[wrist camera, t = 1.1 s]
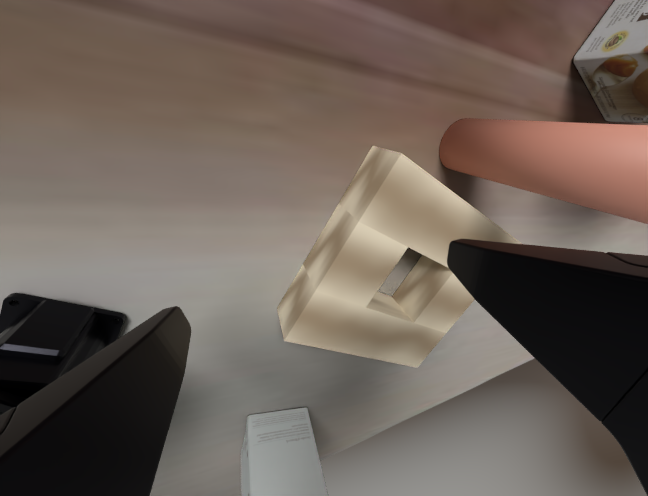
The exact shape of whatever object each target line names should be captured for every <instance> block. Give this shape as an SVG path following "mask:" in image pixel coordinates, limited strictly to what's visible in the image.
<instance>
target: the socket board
mask: <svg viewBox="0 0 648 496" xmlns="http://www.w3.org/2000/svg"><path fill="white" fill-rule="evenodd" d="M457 239H473V240H483V241H493V242H504V243H514V244H522V243H520V242H519V241H518V240H516V239H515V238H514V237H512V236H511V235H510V234H508V233H507V232H506V231H504V230H503V229H502V228H500V227H499V226H498V225H496V224H495V223H494V222H492V221H491V220H490V219H488V218H487V217H486V216H484V215H483V214H482V213H480V212H479V211H478V210H476V209H475V208H474V207H472V206H471V205H470V204H468V203H467V202H466V201H464V200H463V199H462V198H460V197H459V196H458V195H456V194H455V193H454V192H452V191H451V190H450V189H448V188H447V187H446V186H444V185H443V184H442V183H440V182H439V181H438V180H436V179H435V178H434V177H432V176H431V175H430V174H429V173H427V172H426V171H425V170H423V169H422V168H421V167H419V166H418V165H417V164H415V163H414V162H413V161H411V160H410V159H409V158H407V157H406V156H405V155H403V154H402V153H399V152H395V151H391V150H387V149H383V148H380V147H376V146H372V148H371V149H370V151H369V153H368V155H367V156H366V158H365V160H364V161H363V163H362V165H361V166H360V168H359V170H358V172H357V173H356V175H355V177H354V178H353V180H352V182H351V183H350V185H349V187H348V189H347V190H346V192H345V194H344V195H343V197H342V199H341V200H340V202H339V204H338V206H337V207H336V209H335V211H334V212H333V214H332V216H331V217H330V219H329V221H328V223H327V224H326V226H325V228H324V229H323V231H322V233H321V234H320V236H319V238H318V240H317V241H316V243H315V245H314V246H313V248H312V250H311V251H310V253H309V255H308V257H307V258H306V260H305V262H304V263H303V265H302V267H301V268H300V270H299V272H298V274H297V275H296V277H295V279H294V280H293V282H292V284H291V285H290V287H289V289H288V291H287V292H286V294H285V296H284V297H283V299H282V301H281V302H280V304H279V306H278V308H277V310H278V315H279V319H280V324H281V329H282V333H283V338H284V341H287V342H292V343H297V344H302V345H307V346H312V347H317V348H321V349H326V350H331V351H336V352H341V353H346V354H351V355H356V356H361V357H366V358H371V359H376V360H381V361H386V362H391V363H396V364H401V365H406V366H411V367H416V368H417V367H418V366H419V365H420V364H421V363H422V361H423V360H424V359H425V358H426V357H427V355H428V354H429V353H430V352H431V351H432V349H433V348H434V347H435V346H436V345H437V343H438V342H439V341H440V340H441V339H442V338H443V336H444V335H445V334H446V333H447V332H448V330H449V329H450V328H451V327H452V326H453V324H454V323H455V322H456V321H457V320H458V319H459V317H460V316H461V315H462V314H463V313H464V311H465V310H466V309H467V308H468V307H469V305H470V304H471V303H472V302H473V301H474V300H475V299H474V298H473V297H472V295H471V294H470V293H469V292H468V291H467V290H466V288H465V287H464V286H463V285H462V284H461V282H460V281H459V280H458V279H457V277H456V276H455V275H454V274H453V273H452V271H451V270H450V269H449V267H448V265H447V256H448V249H449V244H450V242H451V241H453V240H457ZM408 247H409V248H411V249H413V250H415V251H417V252H419V253H420V254H422V256H421V258H420V259H419V260H418V262H417V263H416V264H415V266H414V267H413V269H412V270H411V271H410V273H409V274H408V275H407V277H406V278H405V279H404V281H403V282H402V284H401V285H400V286H399V288H398V289H397V290H396V292H395V293H394V295H393V296H392V297H391V296H388V295H386V294H383V293H380V292H378V289H379V288H380V287H381V285H382V284H383V282H384V281H385V280H386V278H387V277H388V275H389V274H390V272H391V271H392V270H393V268H394V267H395V265H396V264H397V263H398V261H399V260H400V258H401V257H402V255H403V254H404V253H405V251H406V250H407V248H408Z"/></svg>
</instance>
